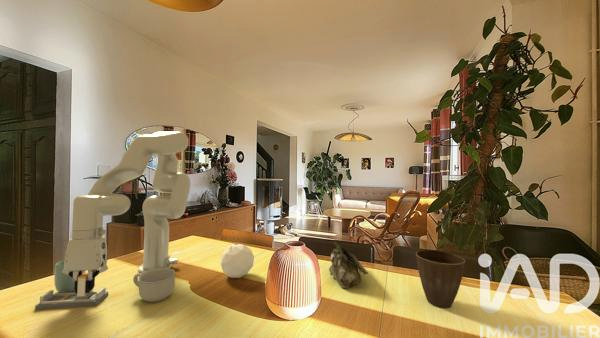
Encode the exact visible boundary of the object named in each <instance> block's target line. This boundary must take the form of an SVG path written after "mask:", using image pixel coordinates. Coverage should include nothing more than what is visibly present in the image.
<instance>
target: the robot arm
mask: <svg viewBox="0 0 600 338" xmlns="http://www.w3.org/2000/svg"><path fill="white" fill-rule="evenodd" d="M189 143H190V141H189V137H188V136H187V135H186V133H184V132H182V131H157V132H153V133H152V134H141V135H138V136H137V135H136V137H135V138H134V139H133V140H132V142H131V143H130V145H129V147H128V148H127V150H126V152H125V153H124V155H123V156H122V157H121V160H120V161H119V163H118V164H117V165H116V166H114V167H113V168H112V169H110V170H108V171H107V172H106V173H105V174H104V175H102V176H101V177H99V178H98V180H96V182H94V184H93V186H91V189H90V190H89V192H88V194H85V195H79V196H76V197H75V198H74V199H73V203H72V204H73V206H72V207H73V208H72V221H71V223H72V225H71V227H72V228H71V238H70V239H69V240H68V243H67V246H66V250H65V255H64V260H65V261H64V268H63V270H62V273H64V274H67V275H69V276H70V277H72V278H73V281H75V286H74V290H75V291H74V292H75V294H77V290H78V277H79V276H80V275H82V274H83V271H85V272H88V280H87V281H86V286H85V293H89V292H90V291H91V290H92V291H93V290H94V288H95V284H96V282H95V281H96V277H97V276H98V275H99V274H102V273H105V272H106V271H108V270H109V267H108V265H107V263H108V246H107V241H106V240H107V239H106V236H103V235H106V234H108V233H107V232H108V231H107V229H104V228H103V222H104V221H103V220H104V216H120V215H121V216H122V215H123V214H125V213H127V211H129V210H130V207H131V200H130V198H129V197H128V196H127V195H125V194H121V193H114V191H115V190H116V189H117V188H118V187H119V186H121V185H123V184H125V183H127V182H129V181H133V180H134V179H137V178H140V177H141V176H142V175H143V174H144V173H145V170H146V168H147V166H148V164H149V162H150V160H151V159H152V157H157V163H156V167H155V172H154V175H153V180H152V189H153V190H154V191H155V192H157V193H163V194H171V195H158V194H157V195H155V194H154V195H151V196H149V197H147V198H145V199H144V201H143V203H142V214H143V220H144V229H143V230H144V232H143V235H144V236H143V255H142V256H143V258H142V264H141V265H139V266H138V269H137V271H138V273H145V272H147V271H150V270H154V269H159V268H170V269H172V266H173V265H178V264H179V259H178V258H176V257H174V258H171V255H170V254H169V245H170V243H169V242H170V223H169V221H168V220H169V219H174V220H175V219H180V218H181V217H182V216H183V215H184V214H185V212H186V208H187V204H188V199H189V194H190V189H191V180H190V179H191V178H190V177H189V176H188V174H187V173H184V172H182V171H181V172H179V171H178V169H179V159H178V157H177V156H176V154H178V153H181V152H183V151H185V150H187V148H188V146H189Z"/></svg>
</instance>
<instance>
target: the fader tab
mask: <svg viewBox="0 0 600 338" xmlns="http://www.w3.org/2000/svg"><path fill="white" fill-rule="evenodd" d="M87 280H88V271H85V273H83V274H82V275H80V276H79V277H78V290H77V296H76V297H75V299H87V298H88V297H89V296H91V295H92V294H93V291H95V290H94V289H93V290H91V291H90V292H89V293H85V286H86V281H87Z"/></svg>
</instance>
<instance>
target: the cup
mask: <svg viewBox="0 0 600 338" xmlns="http://www.w3.org/2000/svg"><path fill="white" fill-rule="evenodd" d="M64 261H65V259H64V260H63V259H62V260H60V261H57V262H56V263H55V266H54V277H53V279H54V281H53V282H54V287H55V290H56V291H57V293H72V292H75V290H74V286H75V281H73V278H72V277H70V276H69V275H67V274H64V273H62V270H63V268H64ZM85 272H86V271H83V273H85Z"/></svg>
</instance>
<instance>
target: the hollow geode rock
mask: <svg viewBox="0 0 600 338" xmlns="http://www.w3.org/2000/svg"><path fill="white" fill-rule="evenodd" d="M333 244H334V245H335V248H333V249H332V250H333V251H331V252H330V261H331V265H330V267H329V268H328V270H329V271H328V272H329V274H330V276H333V278H334V279H335V281H336V282H337V283H338V285H339V287H340V288H342V289H349V288H350V287H351V286H354V287H355V286H357V283H360V282H361V279H362V277H361V274H360V273H362V274H364V275H369V271H367V270H366V268H365V267H364V266H363V265H362V264H361V262H360V261H359V260H358V259H357V256H356V255H354V254H353V253H351V252H350V251H348V250H347V249H346V248H345V247H344V246H343V244H341V243H340V242H338V241H337V240H335V241H333Z"/></svg>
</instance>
